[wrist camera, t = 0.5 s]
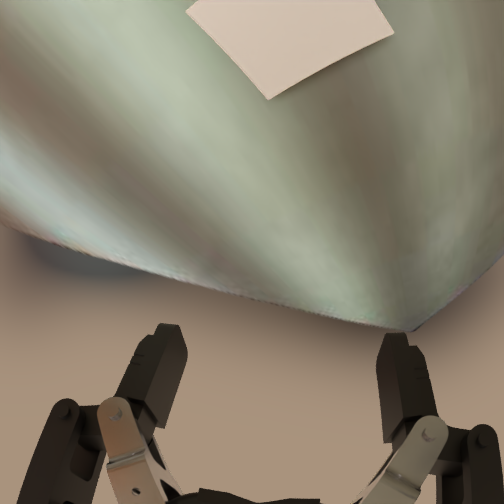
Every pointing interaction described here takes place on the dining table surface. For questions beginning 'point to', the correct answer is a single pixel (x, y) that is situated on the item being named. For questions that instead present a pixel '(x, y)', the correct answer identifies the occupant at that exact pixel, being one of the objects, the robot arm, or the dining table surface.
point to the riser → (289, 35)
